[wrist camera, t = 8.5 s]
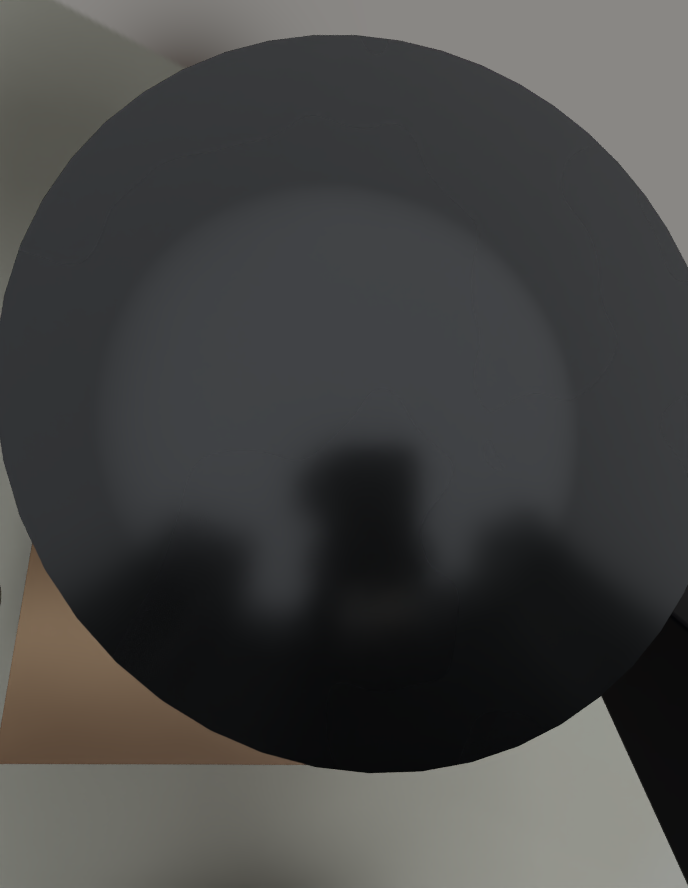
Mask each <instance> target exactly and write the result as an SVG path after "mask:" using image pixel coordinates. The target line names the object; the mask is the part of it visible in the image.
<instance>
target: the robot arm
mask: <svg viewBox="0 0 688 888" xmlns="http://www.w3.org/2000/svg"><path fill="white" fill-rule="evenodd" d="M0 604H1V587H0ZM601 696H602V698H603V701H604V703H605V705H606V707H607V709H608V712H609V714H610V716H611V718H612V720H613V722H614V725H615V727H616V729H617V731H618V733H619V736H620V738H621V740H622V742H623V744H624V747H625V749H626V751H627V753H628V755H629V757H630V760H631V762H632V764H633V766H634V768H635V771H636V773H637V775H638V777H639V779H640V782H641V784H642V786H643V788H644V790H645V792H646V795H647V797H648V799H649V801H650V803H651V806H652V808H653V810H654V812H655V814H656V817H657V819H658V821H659V823H660V825H661V827H662V830H663V832H664V834H665V836H666V838H667V841H668V843H669V845H670V847H671V849H672V852H673V854H674V856H675V858H676V860H677V862H678V865H679V867H680V869H681V871H682V873H683V876H684V878H685V880H686V882H687V884H688V585H687V587H686V589H685V591H684V594H683V595H682V597H681V598H680V600H679V602H678V603H677V605H676V607H675V608H674V610H673V612H672V613H671V615H670V617H669V618H668V620H667V622H666V623H665V625H664V626H663V628H662V630H661V631H660V633H659V634H658V635H657V636H656V637H655V639H654V640H653V641H652V642H651V644H650V645H649V646H648V647H647V649H646V650H645V651H644V652H643V654H642V655H641V656H640V657H639V659H638V660H637V661H636V662H635V664H634V665H633V666H632V667H631V668H630V669H629V670H628V671H627V672H626V673H625V674H623V675H622V676H621V677H620V678H619V679H618V680H617V681H616V682H615V683H614V684H613V685H612V686H611V687H610V688H609V689H608V690H607V691H605V692H604V693H603V694H602V695H601Z"/></svg>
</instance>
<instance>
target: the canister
mask: <svg viewBox="0 0 688 888" xmlns="http://www.w3.org/2000/svg"><path fill="white" fill-rule="evenodd" d="M0 440H1V447H2V454H3V461H4V464H5V468H6V471H7V474H8V478H9V481H10V484H11V488H12V491H13V494H14V498H15V501H16V505H17V508H18V511H19V515H20V517H21V519H22V522H23V524H24V526H25V528H26V530H27V532H28V534H29V537H30V539H31V541H32V543H33V545H34V547H35V550H36V552H37V554H38V556H39V558H40V560H41V562H42V565H43V567H44V569H45V570H46V572H47V574H48V575H49V577H50V578H51V580H52V581H53V583H54V584H55V586H56V587H57V589H58V590H59V592H60V593H61V595H62V596H63V598H64V599H65V601H66V602H67V604H68V605H69V607H70V608H71V610H72V612H73V613H74V615H75V616H76V618H77V619H78V620H79V621H80V622H81V623H82V625H83V626H84V627H85V628H86V629H87V630H88V631H89V632H90V634H91V635H92V636H93V637H94V638H95V639H96V640H97V641H98V643H99V644H100V645H101V646H102V647H103V648H104V649H105V650H106V652H107V653H108V654H109V655H110V656H111V657H112V658H113V659H114V660H115V662H116V663H117V664H119V665H120V666H121V667H122V668H123V669H125V670H126V671H127V672H128V673H129V674H131V675H132V676H133V677H134V678H135V679H137V680H138V681H139V682H140V683H141V684H143V685H144V686H145V687H146V688H147V689H148V690H150V691H151V692H152V693H153V694H154V695H156V696H157V697H158V698H159V699H160V700H162V701H163V702H165V703H167V704H168V705H170V706H172V707H173V708H175V709H176V710H178V711H180V712H181V713H183V714H184V715H186V716H188V717H189V718H191V719H193V720H194V721H196V722H197V723H199V724H201V725H202V726H204V727H206V728H207V729H209V730H211V731H213V732H215V733H217V734H220V735H222V736H224V737H227V738H229V739H231V740H234V741H236V742H238V743H241V744H243V745H245V746H248V747H250V748H252V749H255V750H257V751H259V752H262V753H265V754H269V755H272V756H276V757H280V758H284V759H287V760H291V761H295V762H299V763H303V764H306V765H310V766H314V767H320V768H329V769H338V770H346V771H355V772H364V773H387V772H416V771H426V770H431V769H437V768H442V767H448V766H453V765H459V764H464V763H470V762H473V761H476V760H479V759H482V758H485V757H488V756H491V755H494V754H497V753H500V752H503V751H506V750H509V749H512V748H515V747H518V746H520V745H522V744H524V743H526V742H528V741H530V740H531V739H533V738H535V737H537V736H539V735H541V734H543V733H545V732H547V731H549V730H551V729H553V728H555V727H557V726H559V725H561V724H562V723H564V722H565V721H567V720H568V719H569V718H571V717H572V716H574V715H575V714H576V713H578V712H579V711H581V710H582V709H583V708H585V707H586V706H588V705H589V704H591V703H592V702H593V701H595V700H596V699H598V698H599V697H600V696H601V695H602V694H603V693H604V692H605V691H607V690H608V689H609V688H610V687H611V686H612V685H613V684H614V683H615V682H616V681H617V680H618V679H619V678H620V677H621V676H622V675H623V674H625V673H626V672H627V671H628V670H629V669H630V668H631V667H632V666H633V665H634V664H635V662H636V661H637V660H638V659H639V657H640V656H641V655H642V654H643V652H644V651H645V650H646V649H647V647H648V646H649V645H650V644H651V642H652V641H653V640H654V639H655V637H656V636H657V635H658V634H659V633H660V631H661V630H662V628H663V626H664V625H665V623H666V622H667V620H668V618H669V617H670V615H671V613H672V612H673V610H674V608H675V607H676V605H677V603H678V602H679V600H680V598H681V597H682V595H683V594H684V591H685V589H686V587H687V585H688V267H687V265H686V263H685V261H684V259H683V258H682V256H681V253H680V252H679V250H678V248H677V246H676V244H675V242H674V240H673V238H672V236H671V235H670V233H669V231H668V229H667V227H666V226H665V224H664V223H663V221H662V220H661V218H660V217H659V215H658V214H657V212H656V211H655V209H654V208H653V207H652V205H651V203H650V202H649V200H648V199H647V197H646V196H645V195H644V193H643V192H642V191H641V190H640V189H639V187H638V186H637V185H636V184H635V182H634V181H633V180H632V179H631V178H630V176H629V175H628V174H627V173H626V171H625V170H624V169H623V168H622V167H621V165H620V164H619V163H618V162H617V161H616V160H615V159H614V158H613V157H612V156H611V155H610V154H609V153H608V152H607V151H606V150H605V149H604V148H603V147H602V146H601V145H600V144H599V143H598V142H597V141H596V140H595V139H594V138H593V137H592V136H591V135H590V134H589V133H587V132H586V131H585V130H584V129H582V128H581V127H580V126H579V125H577V124H576V123H575V122H573V121H572V120H571V119H570V118H569V117H567V116H566V115H565V114H564V113H562V112H561V111H559V109H557V108H556V107H555V106H553V105H552V104H550V103H548V102H547V101H545V100H544V99H542V98H540V97H539V96H537V95H536V94H534V93H533V92H531V91H530V90H528V89H526V88H525V87H523V86H522V85H520V84H518V83H516V82H514V81H512V80H510V79H508V78H506V77H504V76H502V75H500V74H498V73H496V72H494V71H492V70H490V69H488V68H486V67H484V66H482V65H479V64H477V63H474V62H471V61H468V60H466V59H463V58H460V57H457V56H455V55H452V54H449V53H446V52H444V51H441V50H436V49H432V48H428V47H424V46H420V45H416V44H412V43H407V42H403V41H398V40H391V39H382V38H374V37H366V36H357V35H312V36H304V37H296V38H289V39H280V40H272V41H266V42H263V43H259V44H255V45H252V46H247V47H243V48H240V49H236V50H232V51H228V52H224V53H222V54H220V55H217V56H215V57H212V58H210V59H208V60H205V61H202V62H200V63H198V64H195V65H193V66H190V67H188V68H185V69H183V70H181V71H179V72H178V73H176V74H174V75H173V76H171V77H169V78H167V79H166V80H164V81H162V82H160V83H159V84H157V85H155V86H154V87H152V88H150V89H148V90H147V91H145V92H143V93H142V94H141V95H139V96H138V97H137V98H135V99H134V100H133V101H132V102H130V103H129V104H128V105H127V106H125V107H124V108H123V109H122V110H120V111H119V112H118V113H116V114H115V115H114V116H113V117H111V118H110V119H109V120H108V121H106V122H105V123H104V124H103V125H102V126H101V127H100V128H99V130H98V131H97V132H96V133H95V134H94V135H93V136H92V137H91V138H90V139H89V140H88V141H87V142H86V143H85V144H84V145H83V146H82V147H81V149H80V150H79V151H78V152H77V153H76V154H75V155H74V156H73V157H72V158H71V160H70V161H69V162H68V164H67V165H66V167H65V168H64V170H63V171H62V173H61V174H60V175H59V177H58V178H57V180H56V181H55V183H54V184H53V185H52V187H51V188H50V190H49V191H48V193H47V194H46V195H45V197H44V198H43V200H42V202H41V204H40V206H39V208H38V210H37V212H36V214H35V216H34V218H33V220H32V222H31V224H30V226H29V228H28V230H27V233H26V235H25V237H24V239H23V241H22V243H21V245H20V248H19V251H18V254H17V257H16V260H15V263H14V267H13V270H12V273H11V276H10V279H9V282H8V285H7V288H6V292H5V295H4V301H3V307H2V313H1V320H0Z"/></svg>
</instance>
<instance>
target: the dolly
mask: <svg viewBox="0 0 688 888" xmlns="http://www.w3.org/2000/svg"><path fill="white" fill-rule="evenodd" d="M0 764H242V765H306V764H303V763H299V762H295V761H291V760H287V759H284V758H280V757H276V756H272V755H269V754H265V753H262V752H259V751H257V750H255V749H252V748H250V747H248V746H245V745H243V744H241V743H238V742H236V741H234V740H231V739H229V738H227V737H224V736H222V735H220V734H217V733H215V732H213V731H211V730H209V729H207V728H206V727H204V726H202V725H201V724H199V723H197V722H196V721H194V720H193V719H191V718H189V717H188V716H186V715H184V714H183V713H181V712H180V711H178V710H176V709H175V708H173V707H172V706H170V705H168V704H167V703H165V702H163V701H162V700H160V699H159V698H158V697H157V696H156V695H154V694H153V693H152V692H151V691H150V690H148V689H147V688H146V687H145V686H144V685H143V684H141V683H140V682H139V681H138V680H137V679H135V678H134V677H133V676H132V675H131V674H129V673H128V672H127V671H126V670H125V669H123V668H122V667H121V666H120V665H119V664H117V663H116V662H115V660H114V659H113V658H112V657H111V656H110V655H109V654H108V653H107V652H106V650H105V649H104V648H103V647H102V646H101V645H100V644H99V643H98V641H97V640H96V639H95V638H94V637H93V636H92V635H91V634H90V632H89V631H88V630H87V629H86V628H85V627H84V626H83V625H82V623H81V622H80V621H79V620H78V619H77V618H76V616H75V615H74V613H73V612H72V610H71V608H70V607H69V605H68V604H67V602H66V601H65V599H64V598H63V596H62V595H61V593H60V592H59V590H58V589H57V587H56V586H55V584H54V583H53V581H52V580H51V578H50V577H49V575H48V574H47V572H46V570H45V569H44V567H43V565H42V562H41V560H40V558H39V556H38V554H37V552H36V550H35V547H34V545H33V543H32V547H31V553H30V559H29V565H28V570H27V576H26V582H25V588H24V594H23V600H22V605H21V611H20V617H19V623H18V629H17V635H16V640H15V646H14V652H13V658H12V664H11V670H10V675H9V681H8V687H7V693H6V699H5V705H4V710H3V716H2V722H1V728H0Z"/></svg>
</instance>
